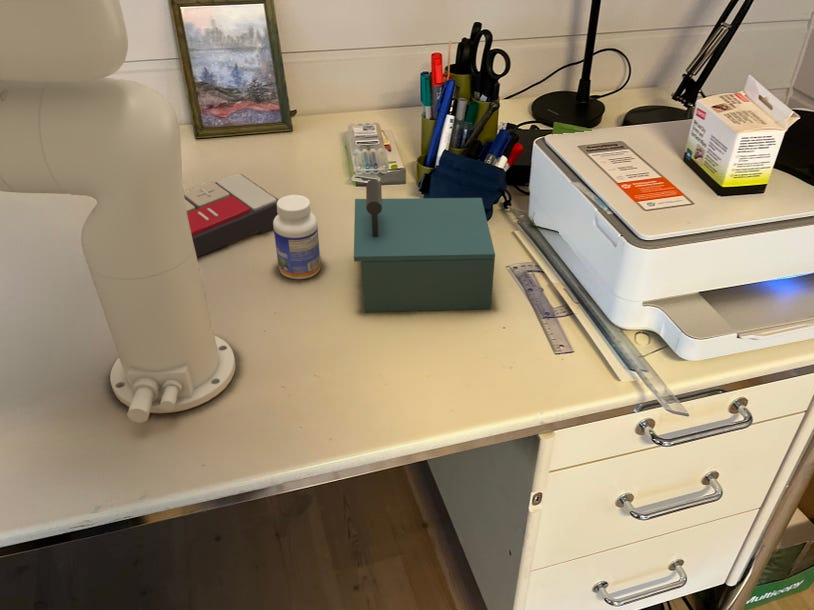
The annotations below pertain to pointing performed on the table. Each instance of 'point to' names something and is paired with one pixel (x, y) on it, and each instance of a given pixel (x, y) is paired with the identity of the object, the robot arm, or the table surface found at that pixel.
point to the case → (427, 285)
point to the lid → (419, 228)
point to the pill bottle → (296, 238)
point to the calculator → (228, 212)
